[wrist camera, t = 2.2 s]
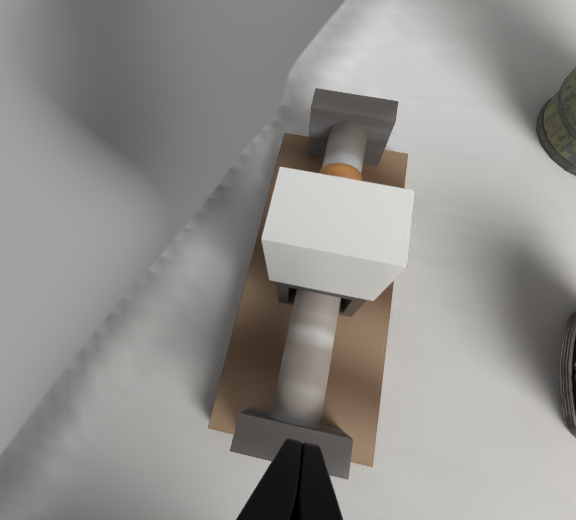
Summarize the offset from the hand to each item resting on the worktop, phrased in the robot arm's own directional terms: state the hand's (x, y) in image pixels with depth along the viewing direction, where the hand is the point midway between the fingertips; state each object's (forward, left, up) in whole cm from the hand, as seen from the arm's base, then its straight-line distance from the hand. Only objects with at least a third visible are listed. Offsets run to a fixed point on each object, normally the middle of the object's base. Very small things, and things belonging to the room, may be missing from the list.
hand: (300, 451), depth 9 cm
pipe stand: (+7, +4, -13) cm, 15 cm away
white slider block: (+7, +3, -11) cm, 13 cm away
